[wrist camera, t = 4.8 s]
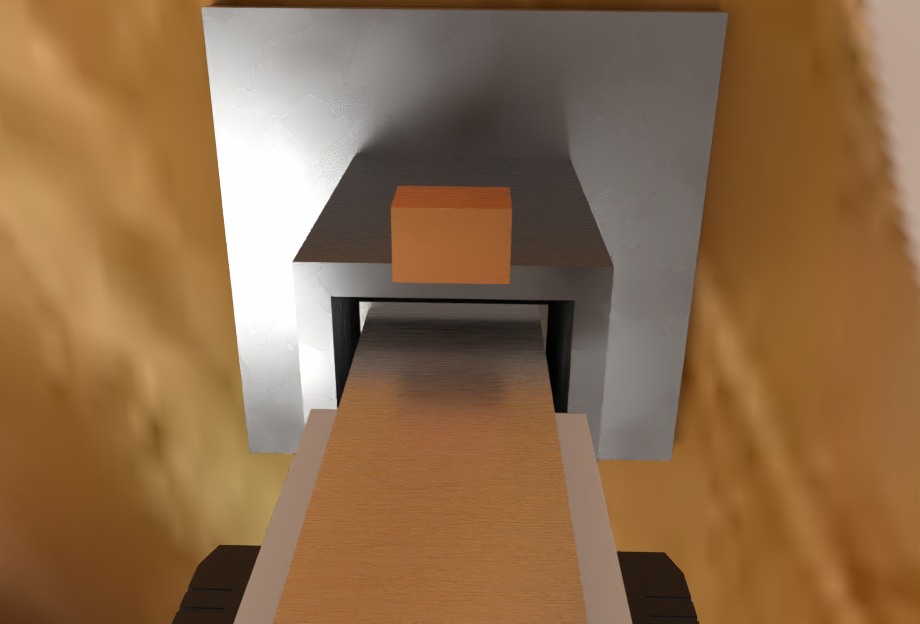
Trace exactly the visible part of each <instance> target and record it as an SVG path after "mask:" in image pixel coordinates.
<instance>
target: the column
mask: <svg viewBox="0 0 920 624" xmlns="http://www.w3.org/2000/svg"><path fill="white" fill-rule="evenodd" d="M359 304H360V328H361V335H360V338H359V342H358V345H357V348H356V352H355V355H354V358H353V361H352V365H351V368H350V371H349V375H348V378H347V381H346V384H345V388H344V391H343V394H342V397H341V401H340V404H339V407H338V411H337V414H336V417H335V420H334V424H333V427H332V430H331V434H330V437H329V440H328V443H327V447H326V450H325V453H324V457H323V460H322V463H321V466H320V470H319V473H318V476H317V479H316V483H315V486H314V489H313V493H312V496H311V499H310V502H309V506H308V509H307V512H306V516H305V519H304V522H303V525H302V529H301V532H300V535H299V539H298V542H297V545H296V548H295V552H294V555H293V558H292V562H291V565H290V568H289V571H288V575H287V578H286V581H285V584H284V588H283V591H282V594H281V598H280V601H279V604H278V607H277V611H276V614H275V617H274V621H273V624H588V622H587V616H586V609H585V603H584V597H583V590H582V584H581V577H580V571H579V564H578V558H577V552H576V545H575V539H574V532H573V526H572V520H571V513H570V507H569V500H568V494H567V488H566V481H565V475H564V468H563V462H562V455H561V449H560V443H559V436H558V430H557V423H556V417H555V411H554V404H553V398H552V391H551V385H550V379H549V372H548V366H547V359H546V337H547V318H548V301H547V300H512V299H451V298H390V297H361V298H360V301H359Z"/></svg>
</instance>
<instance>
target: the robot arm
mask: <svg viewBox="0 0 920 624" xmlns="http://www.w3.org/2000/svg"><path fill="white" fill-rule="evenodd" d="M337 411H338V409H311V410H310V413H309V416H308V419H307V421H306V424H305V427H304V430H303V433H302V435H301V438H300V441H299V444H298V446H297V449H296V452H295V455H294V457H293V460H292V463H291V466H290V469H289V471H288V474H287V477H286V480H285V482H284V485H283V488H282V491H281V493H280V496H279V499H278V502H277V504H276V507H275V510H274V513H273V516H272V518H271V521H270V524H269V527H268V529H267V532H266V535H265V538H264V540H263V543H262V546H246V545H219V546H218V547H217V548H216V549H215V550H214V551H213V552H211V553H210V554H209V555H208V556H207V557H206V558H205V559H204V560H203V561H202V562H201V563H200V564H199V565H198V567H197V569H196V571H195V574H194V576H193V578H192V580H191V582H190V585H189V587H188V592H186V593H185V596H184V598H183V600H182V602H181V605H180V609H179V612H177V613H176V616H175V618H174V620H173V622H172V624H273V621H274V617H275V614H276V611H277V607H278V604H279V601H280V598H281V594H282V591H283V588H284V584H285V581H286V578H287V575H288V571H289V568H290V565H291V562H292V558H293V555H294V552H295V548H296V545H297V542H298V539H299V535H300V532H301V529H302V525H303V522H304V519H305V516H306V512H307V509H308V506H309V502H310V499H311V496H312V493H313V489H314V486H315V483H316V479H317V476H318V473H319V470H320V466H321V463H322V460H323V457H324V453H325V450H326V447H327V443H328V440H329V437H330V434H331V430H332V427H333V424H334V420H335V417H336V414H337ZM555 417H556V423H557V430H558V436H559V443H560V449H561V455H562V462H563V468H564V475H565V481H566V488H567V494H568V500H569V507H570V513H571V520H572V526H573V532H574V539H575V545H576V552H577V558H578V564H579V571H580V577H581V584H582V590H583V597H584V603H585V609H586V616H587V622H588V624H699V621H697V615H696V611H695V608H694V605H693V602H691V596H690V593H689V589H688V586H687V583H686V580H685V577H684V574H683V572H682V571H681V570H680V569H679V568H678V567H677V566H676V565H675V564H674V562H673V561H672V560H671V559H670V558H669V557H668V556H667V555H666V553H663V552H617V551H616V547H615V543H614V538H613V533H612V529H611V524H610V520H609V515H608V511H607V506H606V502H605V497H604V493H603V488H602V484H601V479H600V475H599V470H598V465H597V461H596V456H595V452H594V447H593V443H592V438H591V434H590V429H589V425H588V420H587V416H586V414H568V413H555Z"/></svg>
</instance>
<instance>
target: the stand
mask: <svg viewBox="0 0 920 624" xmlns="http://www.w3.org/2000/svg"><path fill="white" fill-rule="evenodd" d="M201 8H202V17H203V27H204V36H205V45H206V54H207V64H208V73H209V82H210V92H211V101H212V110H213V119H214V129H215V138H216V147H217V157H218V166H219V175H220V184H221V194H222V203H223V212H224V222H225V231H226V240H227V249H228V259H229V268H230V277H231V286H232V296H233V305H234V314H235V324H236V333H237V342H238V351H239V361H240V370H241V379H242V389H243V398H244V407H245V416H246V426H247V435H248V444H249V453H295V452H296V449H297V446H298V444H299V441H300V438H301V435H302V433H303V430H304V427H305V424H306V421H307V419H308V416H309V413H310V410H311V409H338V407H339V404H340V401H341V397H342V394H343V391H344V388H345V384H346V381H347V378H348V375H349V371H350V368H351V365H352V361H353V358H354V355H355V352H356V348H357V345H358V342H359V338H360V335H361V328H360V304H359V301H360V298H361V297H390V298H451V299H512V300H547V301H548V318H547V337H546V359H547V366H548V372H549V379H550V385H551V391H552V398H553V404H554V411H555V413H568V414H586V416H587V420H588V425H589V429H590V434H591V438H592V443H593V447H594V452H595V456H596V461H597V462H598V459H606V460H657V461H671V458H672V450H673V442H674V434H675V426H676V419H677V411H678V403H679V395H680V387H681V380H682V372H683V364H684V356H685V348H686V340H687V333H688V325H689V317H690V309H691V301H692V293H693V286H694V278H695V270H696V262H697V254H698V247H699V239H700V231H701V223H702V215H703V207H704V200H705V192H706V184H707V176H708V168H709V160H710V153H711V145H712V137H713V129H714V121H715V114H716V106H717V98H718V90H719V82H720V74H721V67H722V59H723V51H724V43H725V35H726V27H727V20H728V13H727V12H724V11H721V10H642V9H545V8H448V7H351V6H254V5H209V6H205V7H201Z"/></svg>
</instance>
